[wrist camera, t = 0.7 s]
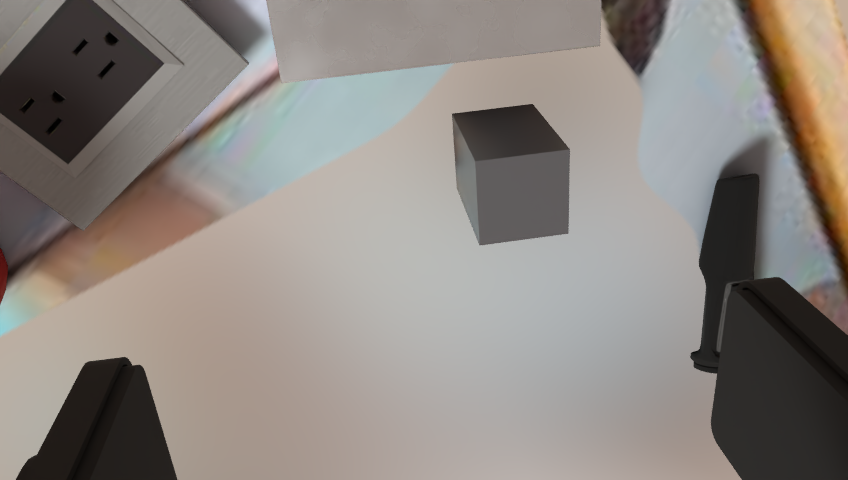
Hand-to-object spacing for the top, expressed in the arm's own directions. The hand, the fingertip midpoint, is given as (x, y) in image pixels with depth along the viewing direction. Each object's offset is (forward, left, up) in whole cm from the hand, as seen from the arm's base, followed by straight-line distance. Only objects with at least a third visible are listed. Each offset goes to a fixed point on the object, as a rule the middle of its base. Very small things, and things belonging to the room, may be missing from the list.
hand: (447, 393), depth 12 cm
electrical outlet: (+1, -14, -30) cm, 33 cm away
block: (+8, +7, -30) cm, 31 cm away
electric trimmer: (+19, +21, -30) cm, 41 cm away
